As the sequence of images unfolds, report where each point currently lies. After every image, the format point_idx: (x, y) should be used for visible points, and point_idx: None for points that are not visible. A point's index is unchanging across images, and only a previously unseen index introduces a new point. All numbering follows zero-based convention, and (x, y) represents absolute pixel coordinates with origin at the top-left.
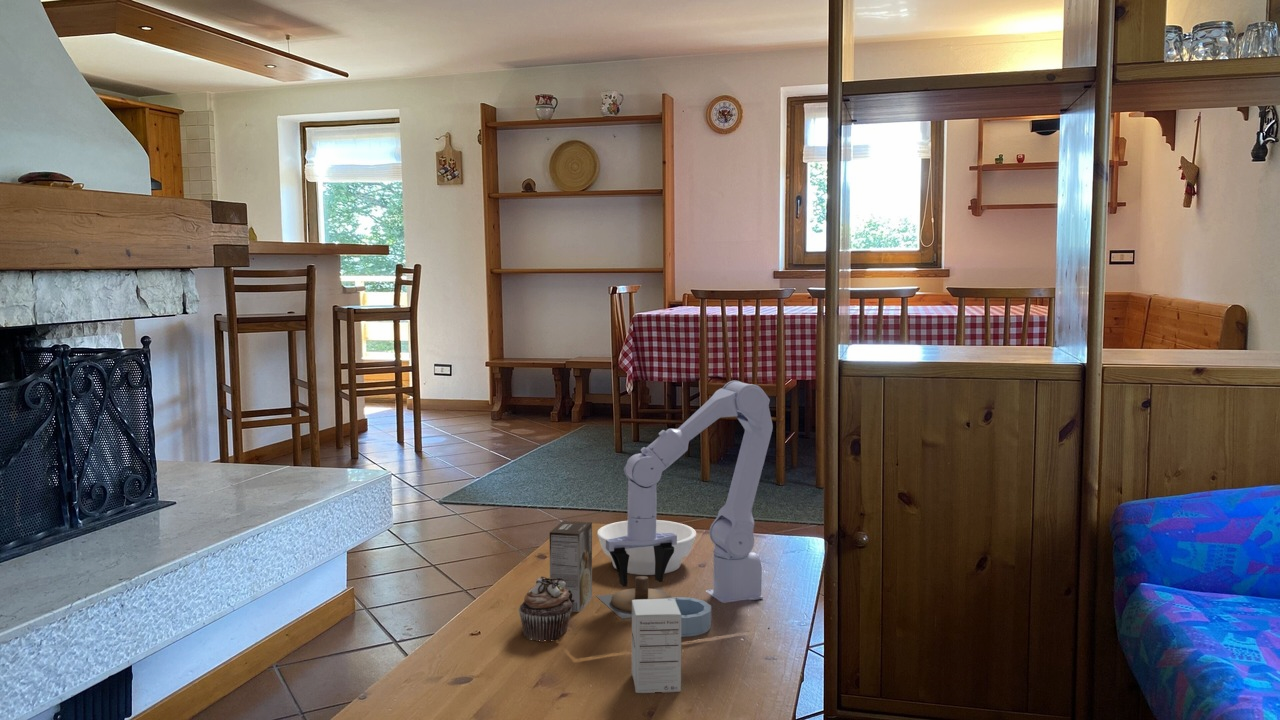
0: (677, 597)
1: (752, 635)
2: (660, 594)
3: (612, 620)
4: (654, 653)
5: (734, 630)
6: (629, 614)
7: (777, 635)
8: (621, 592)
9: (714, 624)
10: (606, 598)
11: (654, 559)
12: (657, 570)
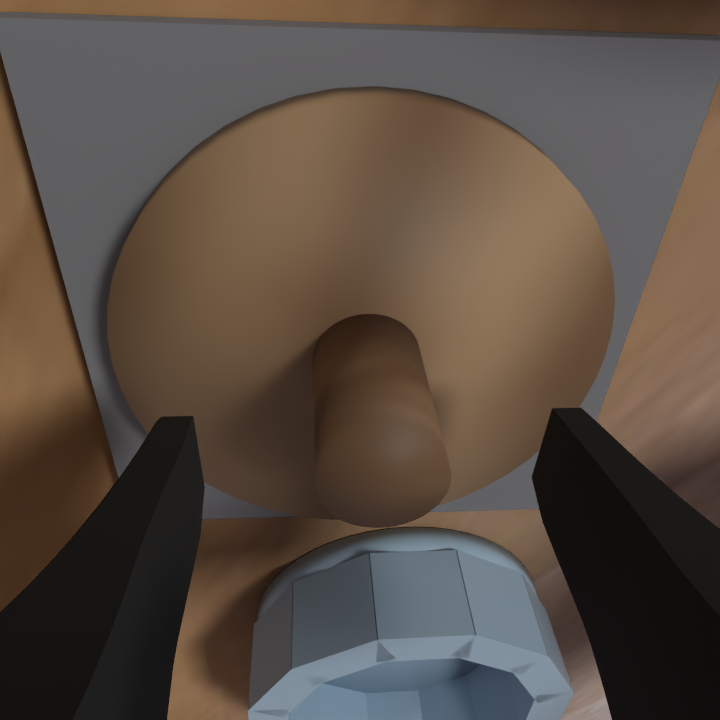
0: (479, 641)
1: (598, 696)
2: (543, 342)
3: (82, 471)
4: None
5: (579, 662)
6: None
7: None
8: (250, 176)
9: (556, 614)
10: (97, 133)
11: None
12: (582, 516)
